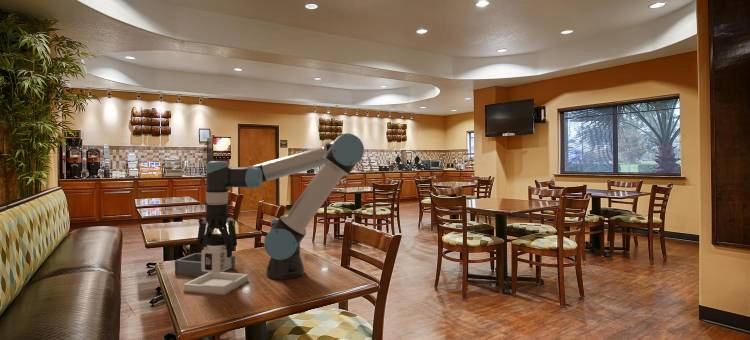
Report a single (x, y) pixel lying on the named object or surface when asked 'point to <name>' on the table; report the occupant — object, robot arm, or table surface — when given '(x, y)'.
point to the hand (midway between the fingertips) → (216, 264)
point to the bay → (193, 265)
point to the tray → (216, 283)
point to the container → (214, 255)
